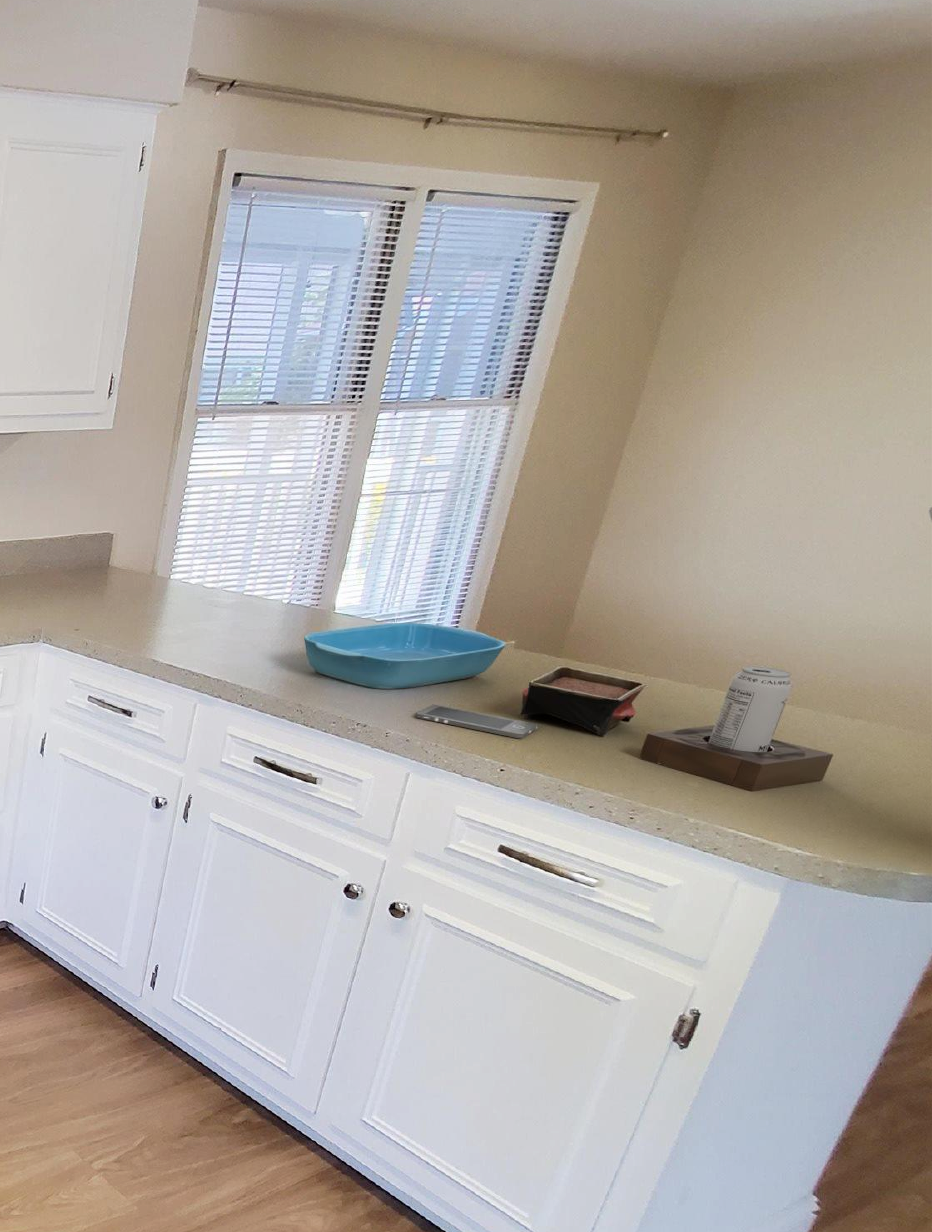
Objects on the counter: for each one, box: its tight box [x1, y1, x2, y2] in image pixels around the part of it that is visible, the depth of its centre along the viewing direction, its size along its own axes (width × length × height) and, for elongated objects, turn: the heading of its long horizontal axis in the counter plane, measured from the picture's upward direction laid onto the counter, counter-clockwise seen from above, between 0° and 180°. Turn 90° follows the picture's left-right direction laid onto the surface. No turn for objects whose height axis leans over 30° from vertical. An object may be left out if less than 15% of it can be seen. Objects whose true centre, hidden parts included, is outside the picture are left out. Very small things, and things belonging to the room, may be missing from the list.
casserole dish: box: [303, 622, 507, 690], centre depth 199 cm, size 37×22×7 cm, turn 108°
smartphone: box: [414, 704, 539, 739], centre depth 171 cm, size 15×8×1 cm, turn 36°
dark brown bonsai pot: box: [519, 666, 646, 738], centre depth 170 cm, size 14×18×10 cm
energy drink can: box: [708, 665, 793, 752], centre depth 147 cm, size 6×6×15 cm
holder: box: [638, 724, 834, 792], centre depth 149 cm, size 14×14×4 cm
